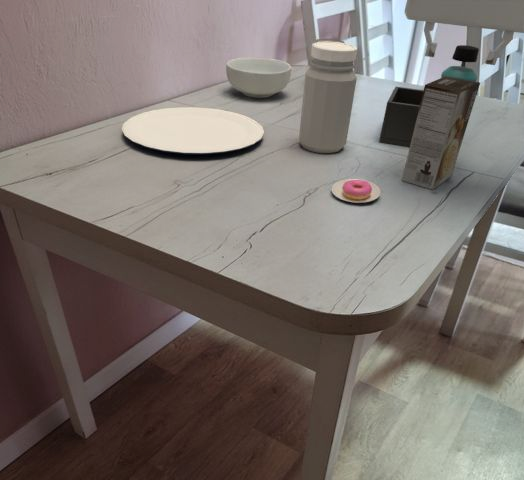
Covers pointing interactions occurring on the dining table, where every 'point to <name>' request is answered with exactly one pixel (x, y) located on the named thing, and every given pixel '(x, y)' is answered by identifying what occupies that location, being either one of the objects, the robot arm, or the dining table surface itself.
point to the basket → (401, 116)
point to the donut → (356, 190)
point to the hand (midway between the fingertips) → (459, 60)
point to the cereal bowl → (258, 76)
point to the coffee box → (439, 131)
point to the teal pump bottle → (463, 55)
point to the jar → (328, 97)
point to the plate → (193, 130)
